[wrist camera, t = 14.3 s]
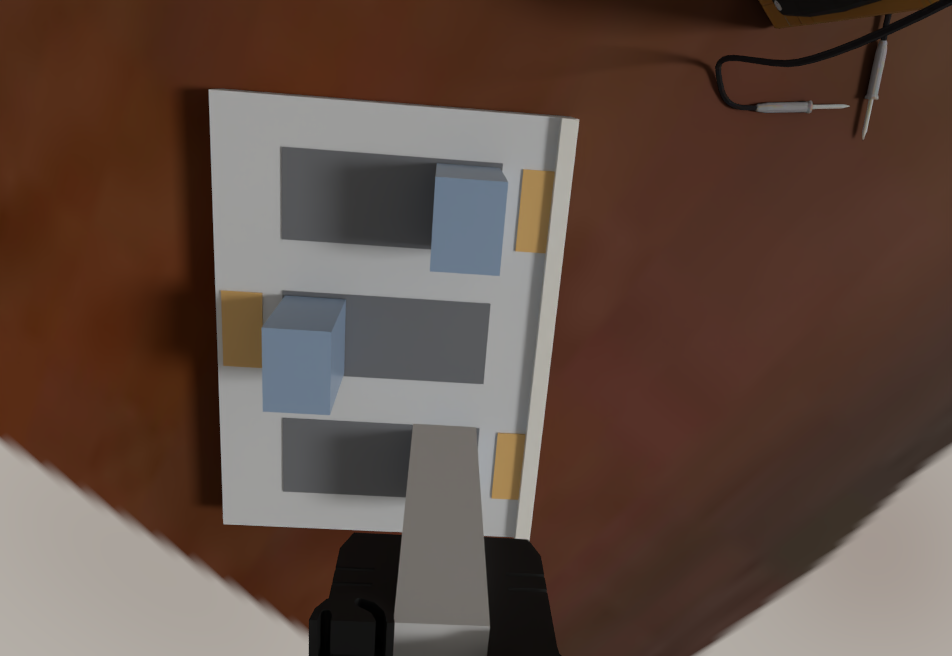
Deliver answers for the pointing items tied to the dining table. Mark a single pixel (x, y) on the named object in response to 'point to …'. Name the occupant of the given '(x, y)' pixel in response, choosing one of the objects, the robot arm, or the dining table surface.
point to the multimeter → (820, 3)
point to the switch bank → (381, 301)
